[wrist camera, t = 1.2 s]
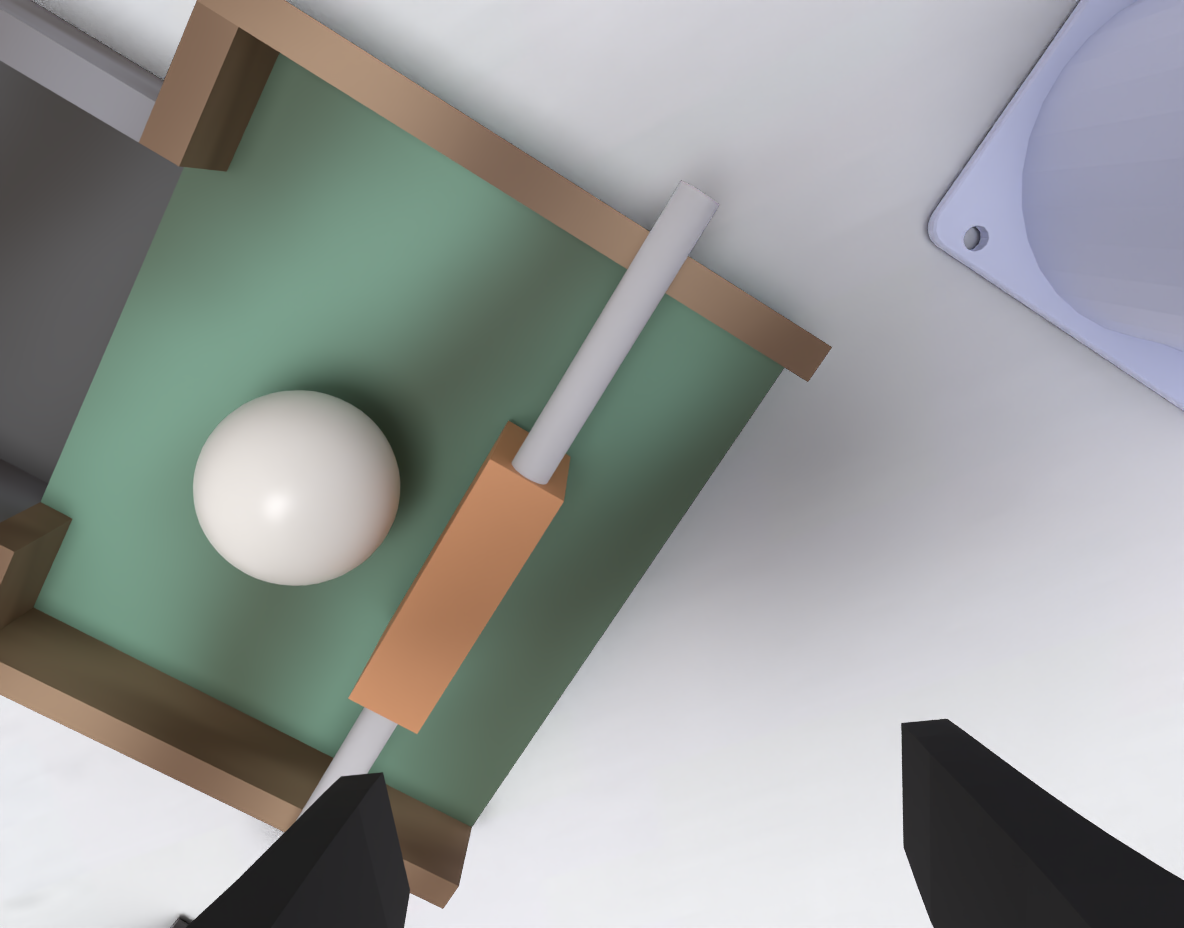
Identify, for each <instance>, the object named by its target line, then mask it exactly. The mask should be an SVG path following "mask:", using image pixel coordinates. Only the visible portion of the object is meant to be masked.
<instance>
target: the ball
mask: <svg viewBox="0 0 1184 928" xmlns="http://www.w3.org/2000/svg"><path fill="white" fill-rule="evenodd" d="M193 497H194V506H195V511H196V515H197V517H198V520H199V523H200V526H201V528H202V530H203V532H204V534H205V535H206V537H207V538H208V540H209V542H210V543H211V544H212V546H213V547H214V548H215V549H216V550H217V552H218V553H219V554H220V555H221V556H222V557H223V558H224V559H225V560H226V561H228V562H229V563H230V564H232V565H233V566H234V567H236V568H237V569H239V570H241V571H242V572H244V573H246V574H248V575H250V576H252V577H254V578H256V579H259V580H262V581H265V582H269V583H274V584H279V585H291V586H300V585H312V584H318V583H321V582H325V581H328V580H332V579H335V578H337V577H339V576H342V575H344V574H346V573H348V572H349V571H351V570H352V569H354V568H356V567H357V566H359V565H360V564H362V563H363V562H364V561H365V560H366V559H368V558H369V557H370V556H371V555H372V554H373V552H374V551H375V550H376V549H377V548H378V547H379V546H380V545H381V543H382V542H383V540H384V539H385V537H386V536H387V534H388V532H389V530H390V528H391V526H392V524H393V522H394V519H395V516H396V513H397V510H398V504H399V498H400V475H399V469H398V465H397V461H396V458H395V455H394V453H393V450H392V448H391V446H390V444H389V442H388V440H387V439H386V437H385V435H384V434H383V433H382V431H381V430H380V428H379V427H378V426H377V425H376V424H375V423H374V422H373V421H372V420H371V419H370V418H369V417H368V416H367V415H366V414H364V413H363V412H362V411H361V410H359V409H358V408H356V407H355V406H353V405H352V404H350V403H347V402H345V401H343V400H341V399H339V398H337V397H334V396H331V395H328V394H324V393H320V392H315V391H305V390H293V391H281V392H275V393H271V394H268V395H264V396H261V397H258V398H256V399H253V400H251V401H249V402H247V403H245V404H243V405H242V406H240V407H239V408H237V409H236V410H234V411H233V412H232V413H230V414H229V415H228V416H227V417H226V418H224V419H223V420H222V421H221V422H220V423H219V424H218V426H217V427H216V428H215V429H214V431H213V432H212V433H211V434H210V436H209V437H208V439H207V441H206V442H205V444H204V446H203V447H202V450H201V453H200V455H199V458H198V460H197V463H196V468H195V472H194V479H193Z"/></svg>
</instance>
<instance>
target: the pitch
mask: <svg viewBox="0 0 1184 928" xmlns="http://www.w3.org/2000/svg"><path fill="white" fill-rule="evenodd" d="M649 233H650V231H648V230H646V229H645V228H643V227H642V226H640V225H639V224H637V223H635V222H634V221H632V220H631V219H629V218H627V217H626V216H624V215H623V214H621V213H620V212H618V211H616V210H615V209H613V208H612V207H610V206H609V205H607V204H605V203H604V202H602V201H601V200H599V199H598V198H596V197H594V196H593V195H591V194H590V193H588V192H586V191H585V190H583V189H582V188H580V187H579V186H577V185H575V184H574V183H572V182H571V181H569V180H568V179H566V178H564V177H563V176H561V175H560V174H558V173H556V172H555V171H553V170H552V169H550V168H549V167H547V166H545V165H544V164H542V163H541V162H539V161H538V160H536V159H534V158H533V157H531V156H530V155H528V154H527V153H525V152H523V151H522V150H520V149H519V148H517V147H515V146H514V145H512V144H511V143H509V142H508V141H506V140H504V139H503V138H501V137H500V136H498V135H497V134H495V133H493V132H492V131H490V130H489V129H487V128H486V127H484V126H482V125H481V124H479V123H478V122H476V121H474V120H473V119H471V118H470V117H468V116H467V115H465V114H463V113H462V112H460V111H459V110H457V109H456V108H454V107H452V106H451V105H449V104H448V103H446V102H444V101H443V100H441V99H440V98H438V97H437V96H435V95H433V94H432V93H430V92H429V91H427V90H426V89H424V88H422V87H421V86H419V85H418V84H416V83H415V82H413V81H411V80H410V79H408V78H407V77H405V76H403V75H402V74H400V73H399V72H397V71H396V70H394V69H392V68H391V67H389V66H388V65H386V64H385V63H383V62H381V61H380V60H378V59H377V58H375V57H373V56H372V55H370V54H369V53H367V52H366V51H364V50H362V49H361V48H359V47H358V46H356V45H355V44H353V43H351V42H350V41H348V40H347V39H345V38H344V37H342V36H340V35H339V34H337V33H336V32H334V31H332V30H331V29H329V28H328V27H326V26H325V25H323V24H321V23H320V22H318V21H317V20H315V19H314V18H312V17H310V16H309V15H307V14H306V13H304V12H302V11H301V10H299V9H298V8H296V7H295V6H293V5H291V4H290V3H288V2H287V1H285V0H197V1H196V4H195V6H194V9H193V11H192V14H191V16H190V19H189V21H188V23H187V26H186V28H185V31H184V33H183V36H182V38H181V40H180V43H179V45H178V48H177V50H176V53H175V55H174V58H173V60H172V62H171V65H170V67H169V70H168V72H167V75H166V77H165V80H164V81H163V80H162V79H160V78H158V77H157V76H155V75H153V74H152V73H150V72H148V71H147V70H145V69H144V68H142V67H140V66H139V65H137V64H135V63H134V62H132V61H130V60H129V59H127V58H125V57H124V56H122V55H120V54H119V53H117V52H115V51H114V50H112V49H111V48H109V47H107V46H106V45H104V44H102V43H101V42H99V41H97V40H96V39H94V38H92V37H91V36H89V35H87V34H86V33H84V32H82V31H81V30H79V29H78V28H76V27H74V26H73V25H71V24H69V23H68V22H66V21H64V20H63V19H61V18H59V17H58V16H56V15H54V14H53V13H51V12H49V11H48V10H46V9H45V8H43V7H41V6H40V5H38V4H36V3H35V2H33V1H31V0H0V695H2V696H4V697H6V698H8V699H10V700H12V701H15V702H17V703H19V704H21V705H23V706H25V707H27V708H29V709H31V710H33V711H35V712H37V713H39V714H41V715H43V716H46V717H48V718H50V719H52V720H54V721H56V722H58V723H60V724H62V725H64V726H66V727H68V728H70V729H72V730H74V731H77V732H79V733H81V734H83V735H85V736H87V737H89V738H91V739H93V740H95V741H97V742H99V743H101V744H103V745H105V746H108V747H110V748H112V749H114V750H116V751H118V752H120V753H122V754H124V755H126V756H128V757H130V758H132V759H134V760H136V761H139V762H141V763H143V764H145V765H147V766H149V767H151V768H153V769H155V770H157V771H159V772H161V773H163V774H165V775H167V776H170V777H172V778H174V779H176V780H178V781H180V782H182V783H184V784H186V785H188V786H190V787H192V788H194V789H196V790H198V791H201V792H203V793H205V794H207V795H209V796H211V797H213V798H215V799H217V800H219V801H221V802H223V803H225V804H227V805H229V806H232V807H234V808H236V809H238V810H240V811H242V812H244V813H246V814H248V815H250V816H252V817H254V818H256V819H258V820H261V821H263V822H265V823H267V824H269V825H271V826H273V827H275V828H277V829H279V830H281V831H283V832H286V831H287V830H288V829H289V828H290V826H291V825H292V824H293V823H294V822H295V821H296V820H297V818H298V817H299V815H300V813H301V812H302V810H303V808H304V807H305V805H306V803H307V802H308V800H309V798H310V797H311V795H312V793H313V792H314V790H315V788H316V787H317V785H318V783H319V782H320V780H321V778H322V777H323V775H324V773H325V772H326V770H327V768H328V767H329V765H330V763H331V762H332V760H333V758H334V757H335V755H336V753H337V752H338V750H339V748H340V747H341V745H342V743H343V742H344V740H345V738H346V737H347V735H348V733H349V732H350V730H351V728H352V727H353V725H354V723H355V722H356V720H357V718H358V717H359V715H360V713H361V712H362V710H363V708H364V707H363V706H361V705H360V704H358V703H356V702H354V701H352V700H350V699H348V698H349V696H350V694H351V692H352V690H353V689H354V687H355V685H356V683H357V681H358V679H359V677H360V675H361V674H362V672H363V670H364V668H365V666H366V664H367V662H368V660H369V659H370V657H371V655H372V653H373V651H374V649H375V647H376V645H377V644H378V642H379V640H380V638H381V636H382V634H383V632H384V630H385V629H386V627H387V625H388V623H389V622H390V620H391V618H392V617H393V615H394V613H395V612H396V610H397V608H398V607H399V605H400V603H401V601H402V600H403V598H404V596H405V595H406V593H407V591H408V590H409V588H410V586H411V585H412V583H413V581H414V579H415V578H416V576H417V574H418V573H419V571H420V569H421V568H422V566H423V564H424V563H425V561H426V559H427V557H428V556H429V554H430V552H431V551H432V549H433V547H434V546H435V544H436V542H437V541H438V539H439V537H440V535H441V534H442V532H443V530H444V529H445V527H446V525H447V524H448V522H449V520H450V519H451V517H452V515H453V513H454V512H455V510H456V508H457V507H458V505H459V503H460V502H461V500H462V498H463V497H464V495H465V493H466V491H467V490H468V488H469V486H470V485H471V483H472V481H473V480H474V478H475V476H476V475H477V473H478V471H479V469H480V468H481V466H482V464H483V463H484V461H485V459H486V458H487V456H488V454H489V453H490V451H491V449H492V447H493V446H494V444H495V442H496V441H497V439H498V437H499V436H500V434H501V432H502V430H503V429H504V427H505V425H506V424H507V422H508V421H510V422H512V423H514V424H515V425H517V426H519V427H520V428H522V429H524V430H526V431H527V432H530V431H531V429H532V427H533V426H534V424H535V422H536V421H537V419H538V417H539V416H540V414H541V412H542V411H543V409H544V407H545V406H546V404H547V402H548V401H549V399H550V397H551V396H552V394H553V392H554V391H555V389H556V387H557V386H558V384H559V382H560V381H561V379H562V377H563V376H564V374H565V372H566V371H567V369H568V367H569V366H570V364H571V363H572V361H573V359H574V358H575V356H576V354H577V353H578V351H579V349H580V348H581V346H582V344H583V343H584V341H585V339H586V338H587V336H588V334H589V333H590V331H591V329H592V328H593V326H594V324H595V323H596V321H597V319H598V318H599V316H600V314H601V313H602V311H603V309H604V308H605V306H606V304H607V303H608V301H609V299H610V298H611V296H612V294H613V293H614V291H615V289H616V288H617V286H618V284H619V283H620V281H621V279H622V278H623V276H624V274H625V273H626V271H627V269H628V268H629V266H630V264H631V263H632V261H633V259H634V258H635V256H636V254H637V253H638V251H639V249H640V248H641V246H642V244H643V243H644V241H645V239H646V238H647V236H648V234H649ZM831 348H832V347H831V346H829V345H828V344H826V343H825V342H823V341H822V340H820V339H818V338H817V337H815V336H814V335H812V334H811V333H809V332H807V331H806V330H804V329H803V328H801V327H799V326H798V325H796V324H795V323H793V322H792V321H790V320H788V319H787V318H785V317H784V316H782V315H781V314H779V313H777V312H776V311H774V310H773V309H771V308H769V307H768V306H766V305H765V304H763V303H762V302H760V301H758V300H757V299H755V298H754V297H752V296H751V295H749V294H747V293H746V292H744V291H743V290H741V289H740V288H738V287H736V286H735V285H733V284H732V283H730V282H728V281H727V280H725V279H724V278H722V277H721V276H719V275H717V274H716V273H714V272H713V271H711V270H710V269H708V268H706V267H705V266H703V265H702V264H700V263H698V262H697V261H695V260H694V259H692V258H691V257H689V256H688V257H687V259H686V260H685V262H684V263H683V265H682V267H681V268H680V270H679V271H678V273H677V275H676V276H675V278H674V279H673V281H672V283H671V284H670V286H669V288H668V289H667V291H666V292H665V294H664V296H663V297H662V299H661V300H660V302H659V304H658V305H657V307H656V309H655V310H654V312H653V313H652V315H651V317H650V318H649V320H648V321H647V323H646V325H645V326H644V328H643V330H642V331H641V333H640V334H639V336H638V338H637V339H636V341H635V342H634V344H633V346H632V347H631V349H630V350H629V352H628V354H627V355H626V357H625V359H624V360H623V362H622V363H621V365H620V367H619V368H618V370H617V371H616V373H615V375H614V376H613V378H612V380H611V381H610V383H609V384H608V386H607V388H606V389H605V391H604V392H603V394H602V396H601V397H600V399H599V401H598V402H597V404H596V405H595V407H594V409H593V410H592V412H591V413H590V415H589V417H588V418H587V420H586V421H585V423H584V425H583V426H582V428H581V430H580V431H579V433H578V434H577V436H576V438H575V439H574V441H573V442H572V444H571V446H570V447H569V449H568V451H567V452H566V454H567V455H569V456H570V457H571V458H570V464H569V471H568V478H567V484H566V491H565V497H564V502H563V504H562V505H561V507H560V508H559V510H558V512H557V513H556V515H555V516H554V518H553V519H552V521H551V523H550V524H549V526H548V527H547V529H546V531H545V532H544V534H543V535H542V537H541V539H540V540H539V542H538V543H537V545H536V546H535V548H534V550H533V551H532V553H531V554H530V556H529V558H528V559H527V561H526V562H525V564H524V565H523V567H522V569H521V570H520V572H519V573H518V575H517V577H516V578H515V580H514V581H513V583H512V585H511V586H510V588H509V589H508V591H507V592H506V594H505V596H504V597H503V599H502V600H501V602H500V604H499V605H498V607H497V608H496V610H495V611H494V613H493V615H492V616H491V618H490V619H489V621H488V623H487V624H486V626H485V627H484V629H483V631H482V632H481V634H480V635H479V637H478V638H477V640H476V642H475V643H474V645H473V646H472V648H471V650H470V651H469V653H468V654H467V656H466V657H465V659H464V661H463V662H462V664H461V665H460V667H459V669H458V670H457V672H456V673H455V675H454V677H453V678H452V680H451V681H450V683H449V684H448V686H447V688H446V689H445V691H444V692H443V694H442V696H441V697H440V699H439V700H438V702H437V703H436V705H435V707H434V708H433V710H432V711H431V713H430V715H429V716H428V718H427V719H426V721H425V723H424V724H423V726H422V727H421V729H420V730H419V732H418V734H416V733H414V732H412V731H410V730H408V729H406V728H404V727H402V726H400V725H397V726H396V728H395V730H394V731H393V733H392V735H391V736H390V738H389V739H388V741H387V743H386V744H385V746H384V747H383V749H382V751H381V752H380V754H379V755H378V757H377V759H376V760H375V762H374V764H373V765H372V767H371V768H370V770H369V772H368V773H367V774H370V773H381V772H383V774H384V778H385V783H386V787H387V791H388V796H389V800H390V804H391V809H392V813H393V818H394V822H395V826H396V831H397V835H398V839H399V844H400V848H401V852H402V857H403V861H404V865H405V870H406V874H407V879H408V883H409V887H410V893H411V894H413V895H416V896H418V897H420V898H422V899H424V900H426V901H428V902H430V903H432V904H434V905H436V906H438V907H440V908H442V909H443V908H444V907H445V905H446V904H447V902H448V901H449V900H450V898H451V897H452V895H453V894H454V892H455V891H456V889H457V888H458V887H459V883H460V878H461V874H462V869H463V864H464V860H465V855H466V851H467V846H468V842H469V837H470V833H471V828H472V826H473V825H474V823H475V822H476V820H477V819H478V817H479V816H480V814H481V813H482V811H483V810H484V808H485V807H486V806H487V804H488V803H489V801H490V800H491V798H492V797H493V795H494V794H495V792H496V791H497V789H498V788H499V786H500V785H501V783H502V782H503V781H504V779H505V778H506V776H507V775H508V773H509V772H510V770H511V769H512V767H513V766H514V764H515V763H516V761H517V760H518V758H519V757H520V756H521V754H522V753H523V751H524V750H525V748H526V747H527V745H528V744H529V742H530V741H531V739H532V738H533V736H534V735H535V733H536V732H537V731H538V729H539V728H540V726H541V725H542V723H543V722H544V720H545V719H546V717H547V716H548V714H549V713H550V711H551V710H552V709H553V707H554V706H555V704H556V703H557V701H558V700H559V698H560V697H561V695H562V694H563V692H564V691H565V689H566V688H567V686H568V685H569V684H570V682H571V681H572V679H573V678H574V676H575V675H576V673H577V672H578V670H579V669H580V667H581V666H582V664H583V663H584V661H585V660H586V659H587V657H588V656H589V654H590V653H591V651H592V650H593V648H594V647H595V645H596V644H597V642H598V641H599V639H600V638H601V636H602V635H603V634H604V632H605V631H606V629H607V628H608V626H609V625H610V623H611V622H612V620H613V619H614V617H615V616H616V614H617V613H618V612H619V610H620V609H621V607H622V606H623V604H624V603H625V601H626V600H627V598H628V597H629V595H630V594H631V592H632V591H633V589H634V588H635V587H636V585H637V584H638V582H639V581H640V579H641V578H642V576H643V575H644V573H645V572H646V570H647V569H648V567H649V566H650V564H651V563H652V562H653V560H654V559H655V557H656V556H657V554H658V553H659V551H660V550H661V548H662V547H663V545H664V544H665V542H666V541H667V539H668V538H669V537H670V535H671V534H672V532H673V531H674V529H675V528H676V526H677V525H678V523H679V522H680V520H681V519H682V517H683V516H684V515H685V513H686V512H687V510H688V509H689V507H690V506H691V504H692V503H693V501H694V500H695V498H696V497H697V495H698V494H699V492H700V491H701V490H702V488H703V487H704V485H705V484H706V482H707V481H708V479H709V478H710V476H711V475H712V473H713V472H714V470H715V469H716V467H717V466H718V465H719V463H720V462H721V460H722V459H723V457H724V456H725V454H726V453H727V451H728V450H729V448H730V447H731V445H732V444H733V442H734V441H735V440H736V438H737V437H738V435H739V434H740V432H741V431H742V429H743V428H744V426H745V425H746V423H747V422H748V420H749V419H750V418H751V416H752V415H753V413H754V412H755V410H756V409H757V407H758V406H759V404H760V403H761V401H762V400H763V398H764V397H765V395H766V394H767V393H768V391H769V390H770V388H771V387H772V385H773V384H774V382H775V381H776V379H777V378H778V376H779V375H780V373H781V372H782V370H783V369H784V368H786V369H788V370H789V371H791V372H793V373H794V374H796V375H797V376H799V377H801V378H802V379H804V380H806V381H807V382H808V381H809V380H810V378H811V377H812V375H813V374H814V373H815V371H816V370H817V368H818V367H819V365H820V364H821V362H822V361H823V360H824V358H825V357H826V355H827V354H828V352H829V351H830V350H831ZM293 390H305V391H315V392H320V393H324V394H328V395H331V396H334V397H337V398H339V399H341V400H343V401H345V402H347V403H350V404H352V405H353V406H355V407H356V408H358V409H359V410H361V411H362V412H363V413H364V414H366V415H367V416H368V417H369V418H370V419H371V420H372V421H373V422H374V423H375V424H376V425H377V426H378V427H379V428H380V430H381V431H382V433H383V434H384V435H385V437H386V439H387V440H388V442H389V444H390V446H391V448H392V450H393V453H394V455H395V458H396V461H397V465H398V469H399V475H400V498H399V504H398V510H397V513H396V516H395V519H394V522H393V524H392V526H391V528H390V530H389V532H388V534H387V536H386V537H385V539H384V540H383V542H382V543H381V545H380V546H379V547H378V548H377V549H376V550H375V551H374V552H373V554H372V555H371V556H370V557H369V558H368V559H366V560H365V561H364V562H363V563H362V564H360V565H359V566H357V567H356V568H354V569H352V570H351V571H349V572H348V573H346V574H344V575H342V576H339V577H337V578H335V579H332V580H328V581H325V582H321V583H318V584H312V585H300V586H291V585H279V584H274V583H269V582H265V581H262V580H259V579H256V578H254V577H252V576H250V575H248V574H246V573H244V572H242V571H241V570H239V569H237V568H236V567H234V566H233V565H232V564H230V563H229V562H228V561H226V560H225V559H224V558H223V557H222V556H221V555H220V554H219V553H218V552H217V550H216V549H215V548H214V547H213V546H212V544H211V543H210V542H209V540H208V538H207V537H206V535H205V534H204V532H203V530H202V528H201V526H200V523H199V520H198V517H197V515H196V511H195V506H194V497H193V479H194V472H195V468H196V463H197V460H198V458H199V455H200V453H201V450H202V447H203V446H204V444H205V442H206V441H207V439H208V437H209V436H210V434H211V433H212V432H213V431H214V429H215V428H216V427H217V426H218V424H219V423H220V422H221V421H222V420H223V419H224V418H226V417H227V416H228V415H229V414H230V413H232V412H233V411H234V410H236V409H237V408H239V407H240V406H242V405H243V404H245V403H247V402H249V401H251V400H253V399H256V398H258V397H261V396H264V395H268V394H271V393H275V392H281V391H293Z"/></svg>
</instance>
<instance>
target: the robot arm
mask: <svg viewBox="0 0 1184 928" xmlns="http://www.w3.org/2000/svg"><path fill="white" fill-rule="evenodd" d="M973 226H975V227H977V228H978V230H979V231H980V234H981V239H980V242H979V244H978V245H977V246H976V247H975V248H974V249H971V250H968V249H967V247H966V246H965V245H964V236H965V233H966V231H968V230H969V229H970V228H971V227H973ZM928 233H929V236H930V239H931V241H932V242H933V243H934V244H935V245H936V246H937V247H939V248H940V249H942V250H943V251H945V252H946V253H948V254H949V255H951V256H952V257H954V258H955V259H957V260H958V261H960V262H961V263H963V264H964V265H966V266H967V267H969V268H970V269H972V270H973V271H975V272H976V273H978V274H979V275H981V276H982V277H984V278H985V279H987V280H988V281H990V282H991V283H993V284H994V285H996V286H997V287H999V288H1000V289H1002V290H1003V291H1005V292H1006V293H1008V294H1009V295H1011V296H1012V297H1014V298H1015V299H1017V300H1018V301H1020V302H1021V303H1023V304H1024V305H1026V306H1027V307H1029V308H1030V309H1032V310H1033V311H1035V312H1036V313H1038V314H1039V315H1041V316H1042V317H1044V318H1045V319H1047V320H1048V321H1050V322H1051V323H1053V324H1054V325H1056V326H1057V327H1059V328H1060V329H1062V330H1063V331H1065V332H1066V333H1068V334H1069V335H1071V336H1072V337H1074V338H1075V339H1077V340H1078V341H1080V342H1081V343H1083V344H1084V345H1086V346H1087V347H1089V348H1090V349H1092V350H1093V351H1095V352H1096V353H1098V354H1099V355H1101V356H1102V357H1104V358H1105V359H1107V360H1108V361H1110V362H1111V363H1113V364H1114V365H1116V366H1117V367H1119V368H1120V369H1122V370H1123V371H1125V372H1126V373H1128V374H1129V375H1131V376H1132V377H1134V378H1135V379H1137V380H1138V381H1140V382H1141V383H1143V384H1144V385H1146V386H1147V387H1149V388H1150V389H1152V390H1153V391H1154V392H1156V393H1157V394H1159V395H1160V396H1162V397H1163V398H1165V399H1166V400H1168V401H1169V402H1171V403H1172V404H1174V405H1175V406H1177V407H1178V408H1180V409H1181V410H1183V411H1184V0H1081V1H1080V2H1079V3H1078V5H1077V6H1076V8H1075V9H1074V11H1073V12H1072V13H1071V15H1070V16H1069V18H1068V19H1067V21H1066V22H1065V24H1064V25H1063V26H1062V28H1061V29H1060V31H1059V32H1058V34H1057V35H1056V36H1055V38H1054V39H1053V41H1052V42H1051V44H1050V45H1049V47H1048V48H1047V49H1046V51H1045V52H1044V54H1043V55H1042V57H1041V58H1040V59H1039V61H1038V62H1037V64H1036V65H1035V67H1034V68H1033V70H1032V71H1031V72H1030V74H1029V75H1028V77H1027V78H1026V80H1025V81H1024V82H1023V84H1022V85H1021V87H1020V88H1019V90H1018V91H1017V93H1016V94H1015V95H1014V97H1013V98H1012V100H1011V101H1010V103H1009V104H1008V105H1007V107H1006V108H1005V110H1004V111H1003V113H1002V114H1001V116H1000V117H999V118H998V120H997V121H996V123H995V124H994V126H993V127H992V128H991V130H990V131H989V133H988V134H987V136H986V137H985V139H984V140H983V141H982V143H981V144H980V146H979V147H978V149H977V150H976V151H975V153H974V154H973V156H972V157H971V159H970V160H969V162H968V163H967V164H966V166H965V167H964V169H963V170H962V172H961V173H960V175H959V176H958V177H957V179H956V180H955V182H954V183H953V185H952V186H951V187H950V189H949V190H948V192H947V193H946V195H945V196H944V198H943V199H942V200H941V202H940V203H939V205H938V206H937V208H936V209H935V210H934V212H933V213H932V216H931V218H930V220H929V223H928ZM901 730H902V786H903V843H904V850H905V852H906V855H907V858H908V861H909V864H910V866H911V869H912V872H913V875H914V878H915V881H916V883H917V886H918V889H919V892H920V894H921V897H922V900H923V902H924V905H925V908H926V910H927V913H928V915H929V918H930V921H931V923H932V925H933V927H934V928H1184V880H1182V879H1181V878H1179V877H1177V876H1175V875H1174V874H1172V873H1170V872H1169V871H1167V870H1165V869H1164V868H1162V867H1160V866H1159V865H1157V864H1155V863H1154V862H1152V861H1151V860H1149V859H1148V858H1146V857H1144V856H1143V855H1141V854H1140V853H1138V852H1136V851H1135V850H1133V849H1132V848H1130V847H1128V846H1127V845H1125V844H1124V843H1122V842H1121V841H1119V840H1117V839H1116V838H1114V837H1113V836H1111V835H1109V834H1108V833H1106V832H1105V831H1103V830H1102V829H1100V828H1099V827H1097V826H1096V825H1094V824H1093V823H1091V822H1090V821H1088V820H1087V819H1085V818H1084V817H1082V816H1081V815H1079V814H1078V813H1077V812H1075V811H1074V810H1072V809H1071V808H1069V807H1068V806H1066V805H1065V804H1063V803H1062V802H1061V801H1059V800H1058V799H1056V798H1055V797H1054V796H1052V795H1051V794H1049V793H1048V792H1046V791H1045V790H1044V789H1042V788H1041V787H1039V786H1038V785H1037V784H1035V783H1034V782H1033V781H1031V780H1030V779H1028V778H1027V777H1026V776H1024V775H1023V774H1021V773H1020V772H1019V771H1017V770H1016V769H1015V768H1013V767H1012V766H1011V765H1009V764H1008V763H1007V762H1005V761H1004V760H1002V759H1001V758H1000V757H998V756H997V755H996V754H994V753H993V752H992V751H990V750H989V749H988V748H986V747H985V746H984V745H982V744H981V743H980V742H978V741H977V740H976V739H974V738H973V737H972V736H970V735H969V734H968V733H966V732H965V731H963V730H962V729H961V728H959V727H958V726H956V725H955V724H954V723H952V722H951V721H949V720H948V719H940V720H929V721H919V722H908V723H901ZM409 894H410V887H409V883H408V879H407V874H406V870H405V865H404V861H403V857H402V852H401V848H400V844H399V839H398V835H397V831H396V826H395V822H394V818H393V813H392V809H391V804H390V800H389V796H388V791H387V787H386V783H385V778H384V774H383V772H381V773H370V774H359V775H349V776H341V777H340V778H339V779H338V780H336V781H335V782H334V783H333V784H332V785H331V786H330V787H329V788H328V789H327V790H326V791H325V792H324V793H323V794H322V795H321V796H320V797H319V798H318V799H317V800H316V801H315V802H314V803H313V804H312V805H311V806H310V807H309V808H308V809H307V810H306V811H305V812H304V813H303V814H302V815H301V816H300V817H299V818H298V819H297V820H296V821H295V822H294V823H293V824H292V825H291V826H290V828H289V829H288V830H287V831H286V832H285V833H284V834H283V835H282V836H281V837H280V838H279V839H278V840H277V841H276V842H275V843H274V844H273V845H272V846H271V847H270V848H269V849H268V850H267V851H266V852H265V853H264V854H263V855H262V856H261V857H260V858H259V859H258V860H257V861H256V862H255V863H254V864H253V865H252V866H251V867H250V868H249V869H248V870H247V871H246V872H245V873H244V874H243V875H242V876H241V877H240V878H239V879H238V880H237V881H236V882H234V883H233V884H232V885H231V886H230V887H229V888H228V889H227V890H226V891H225V892H224V893H223V894H222V895H220V896H219V897H218V898H217V899H216V900H215V901H214V902H213V903H212V904H211V905H210V906H209V907H207V908H206V909H205V910H204V911H203V912H202V913H201V914H200V915H199V916H198V917H197V918H196V919H194V920H193V921H192V922H191V923H190V924H189V925H188V926H187V927H186V928H404V924H405V918H406V912H407V906H408V900H409Z"/></svg>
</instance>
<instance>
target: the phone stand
mask: <svg viewBox="0 0 1184 928" xmlns="http://www.w3.org/2000/svg"><path fill="white" fill-rule="evenodd" d="M188 925H189V924H188V923H186V922H184V921H182V920H181V919H179V918H178V919H177V920H176V921H175V923H174V924H173V925H172V926H171V928H186V927H187V926H188Z"/></svg>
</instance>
